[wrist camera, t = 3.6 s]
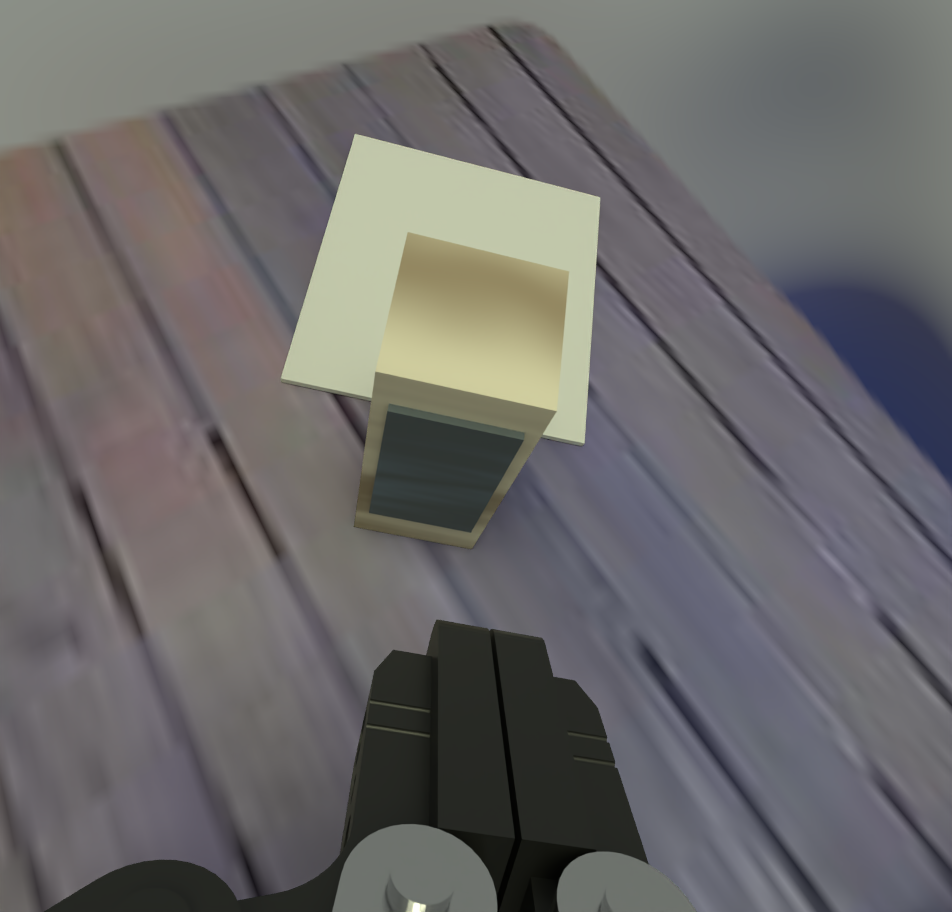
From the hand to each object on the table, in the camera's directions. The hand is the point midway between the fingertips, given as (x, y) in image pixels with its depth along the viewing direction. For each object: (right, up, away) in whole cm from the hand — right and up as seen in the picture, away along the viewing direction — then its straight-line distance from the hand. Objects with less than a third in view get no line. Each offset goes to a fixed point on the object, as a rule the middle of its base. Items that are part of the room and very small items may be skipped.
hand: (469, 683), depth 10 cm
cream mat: (-1, +12, +26) cm, 29 cm away
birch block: (-2, +2, +21) cm, 21 cm away
